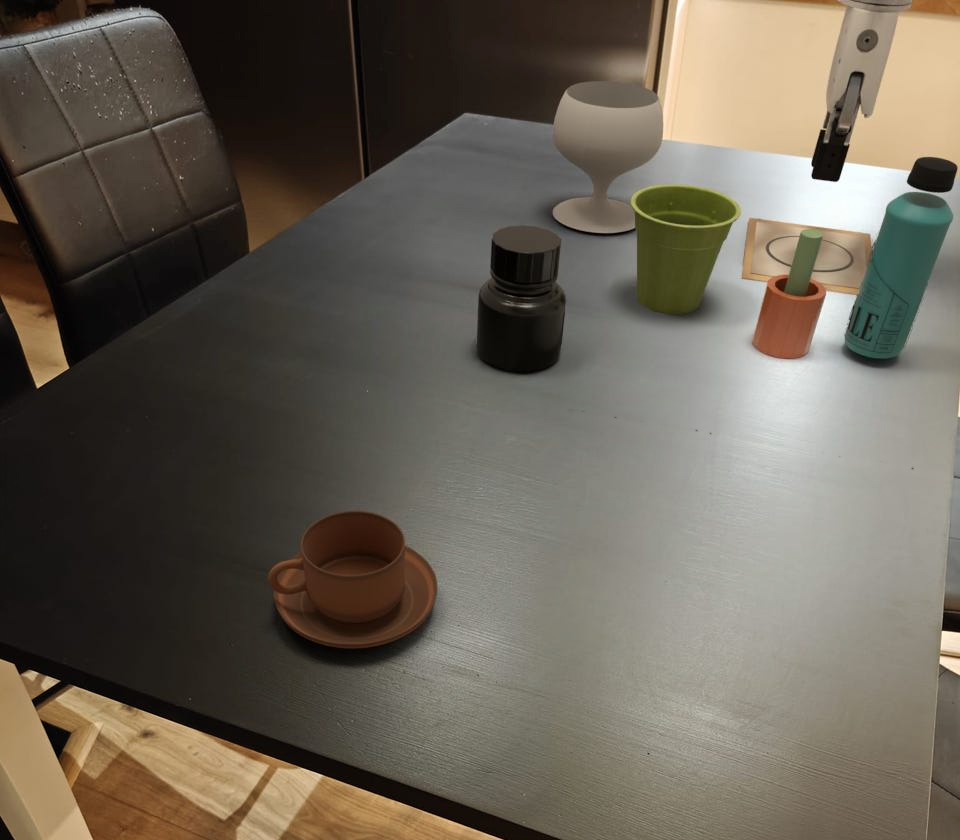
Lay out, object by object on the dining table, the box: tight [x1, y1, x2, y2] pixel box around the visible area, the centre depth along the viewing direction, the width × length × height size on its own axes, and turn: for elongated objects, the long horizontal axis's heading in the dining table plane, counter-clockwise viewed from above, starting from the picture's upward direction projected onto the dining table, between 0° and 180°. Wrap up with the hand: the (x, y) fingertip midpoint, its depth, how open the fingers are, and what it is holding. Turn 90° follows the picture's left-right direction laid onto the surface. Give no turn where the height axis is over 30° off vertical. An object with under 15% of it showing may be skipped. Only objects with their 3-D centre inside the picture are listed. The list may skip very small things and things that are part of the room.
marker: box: [784, 229, 823, 297], centre depth 97 cm, size 2×2×12 cm
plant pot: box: [630, 183, 742, 315], centre depth 105 cm, size 12×12×11 cm
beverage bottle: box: [843, 156, 959, 359], centre depth 94 cm, size 6×7×20 cm
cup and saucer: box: [267, 510, 438, 649], centre depth 68 cm, size 12×12×6 cm
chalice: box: [552, 80, 664, 234], centre depth 121 cm, size 14×14×15 cm
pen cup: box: [751, 275, 827, 360], centre depth 99 cm, size 6×6×7 cm
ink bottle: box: [476, 224, 567, 372], centre depth 95 cm, size 10×9×12 cm
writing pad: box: [741, 217, 873, 296], centre depth 119 cm, size 16×20×1 cm
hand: (824, 172), depth 110 cm, fingers open, 3 cm apart
